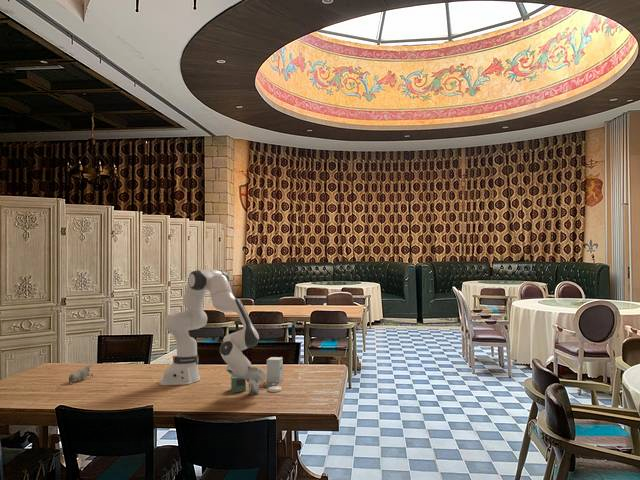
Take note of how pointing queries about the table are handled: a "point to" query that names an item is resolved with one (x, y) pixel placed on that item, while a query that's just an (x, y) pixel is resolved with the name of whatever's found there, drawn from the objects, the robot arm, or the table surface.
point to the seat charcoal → (270, 384)
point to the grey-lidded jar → (253, 387)
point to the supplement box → (275, 369)
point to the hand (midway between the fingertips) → (254, 381)
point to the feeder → (238, 384)
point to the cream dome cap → (275, 389)
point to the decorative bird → (80, 374)
